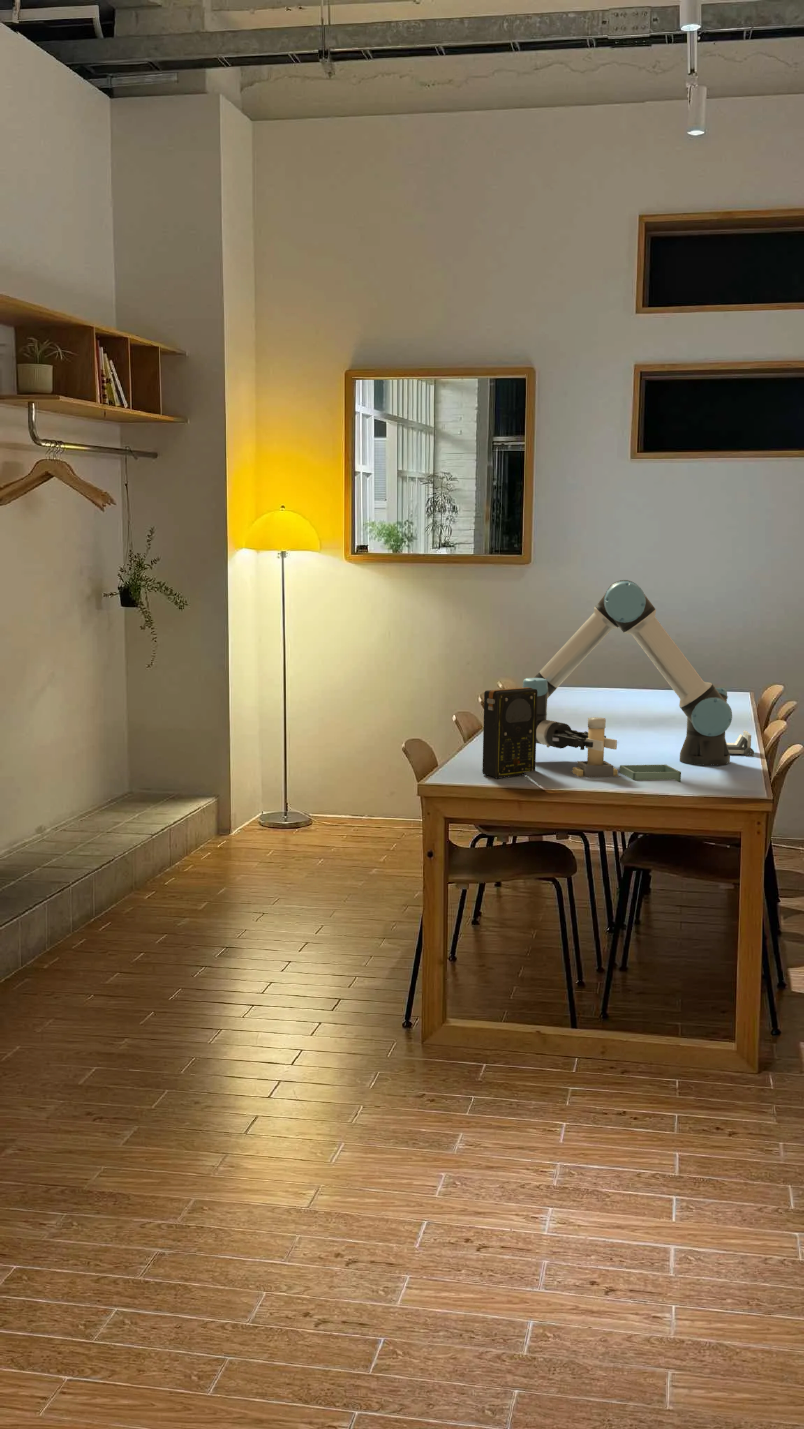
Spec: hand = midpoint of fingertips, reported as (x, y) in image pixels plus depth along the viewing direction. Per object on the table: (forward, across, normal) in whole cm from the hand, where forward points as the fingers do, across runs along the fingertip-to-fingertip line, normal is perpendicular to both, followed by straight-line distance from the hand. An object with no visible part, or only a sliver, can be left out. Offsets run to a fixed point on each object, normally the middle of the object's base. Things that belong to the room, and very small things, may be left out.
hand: (608, 745), depth 374 cm
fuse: (-5, 0, -9) cm, 10 cm away
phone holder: (-17, -66, -11) cm, 69 cm away
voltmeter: (-21, +19, -10) cm, 30 cm away
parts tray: (+5, -12, -10) cm, 16 cm away
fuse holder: (-5, 0, -10) cm, 11 cm away
